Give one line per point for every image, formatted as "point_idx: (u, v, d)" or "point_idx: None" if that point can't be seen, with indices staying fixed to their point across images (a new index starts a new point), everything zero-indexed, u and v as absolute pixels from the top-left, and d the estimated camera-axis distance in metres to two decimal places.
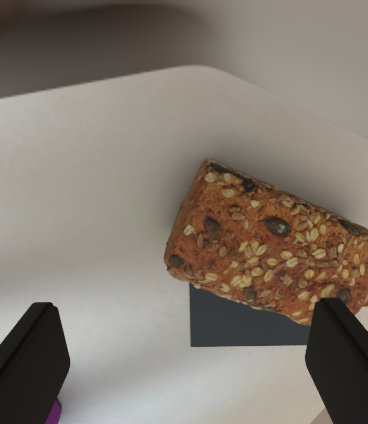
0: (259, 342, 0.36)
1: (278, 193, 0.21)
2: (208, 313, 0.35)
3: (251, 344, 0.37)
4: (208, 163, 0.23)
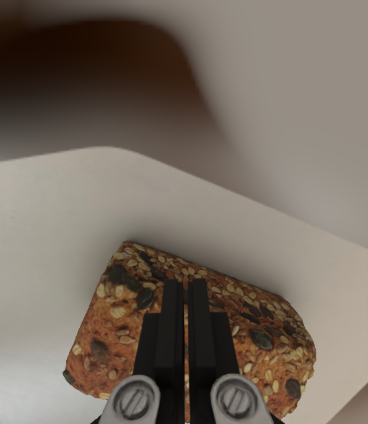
0: None
1: None
2: None
3: None
4: (109, 264, 0.20)
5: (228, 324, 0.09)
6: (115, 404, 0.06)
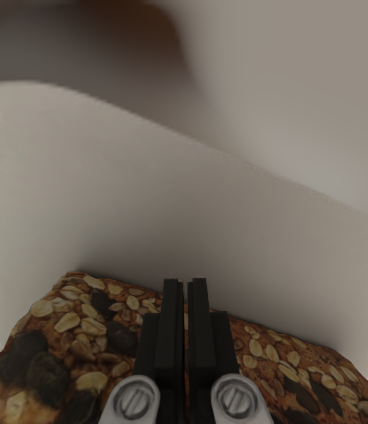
0: None
1: None
2: None
3: None
4: (13, 332, 0.10)
5: (228, 324, 0.09)
6: (115, 404, 0.06)
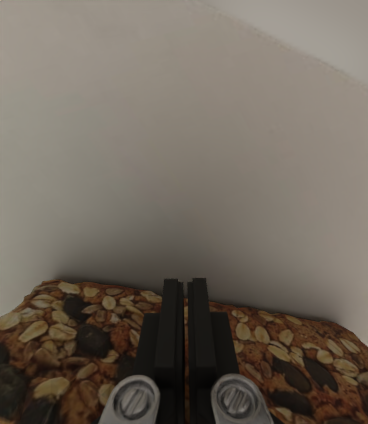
0: None
1: None
2: None
3: None
4: None
5: (228, 324, 0.09)
6: (115, 404, 0.06)
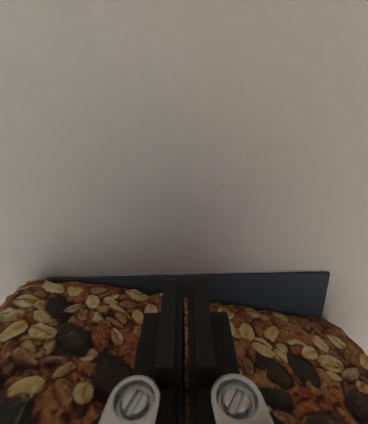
0: None
1: None
2: None
3: None
4: None
5: (228, 324, 0.09)
6: (115, 404, 0.06)
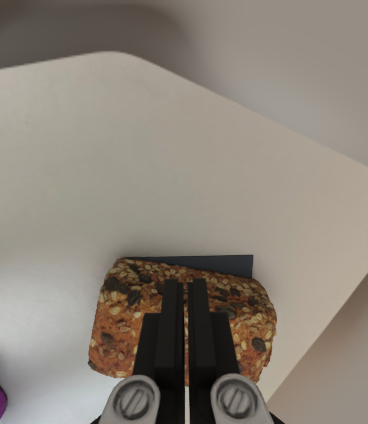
0: None
1: (159, 299, 0.26)
2: None
3: None
4: (105, 278, 0.28)
5: (228, 324, 0.09)
6: (115, 404, 0.06)
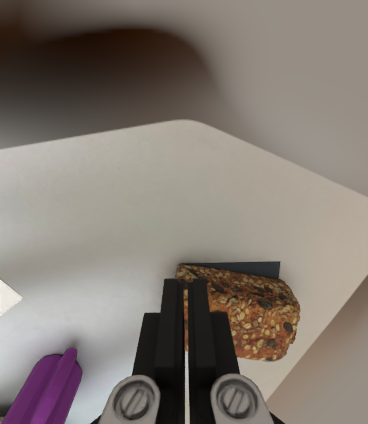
0: None
1: (217, 295, 0.36)
2: None
3: None
4: None
5: (228, 324, 0.09)
6: (115, 404, 0.06)
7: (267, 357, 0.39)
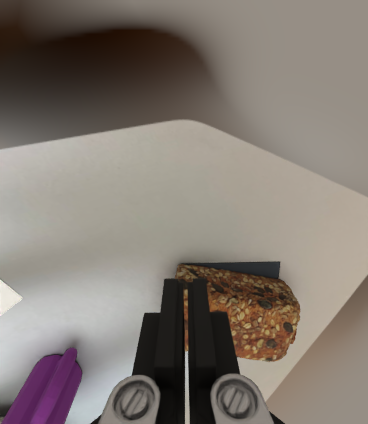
0: None
1: (217, 294, 0.36)
2: None
3: None
4: None
5: (228, 324, 0.09)
6: (115, 404, 0.06)
7: (267, 357, 0.39)
